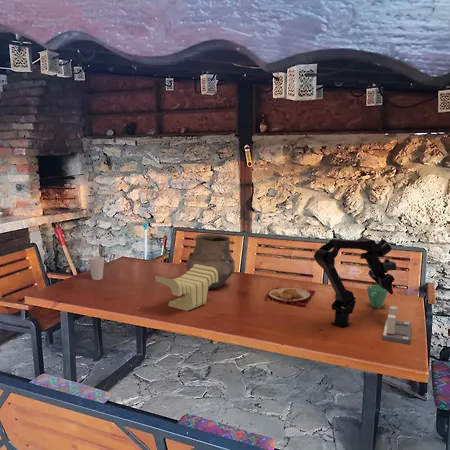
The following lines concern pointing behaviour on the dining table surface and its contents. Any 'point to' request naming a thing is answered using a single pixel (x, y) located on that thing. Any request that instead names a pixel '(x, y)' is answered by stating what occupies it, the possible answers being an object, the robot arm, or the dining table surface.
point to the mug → (376, 295)
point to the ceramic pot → (213, 256)
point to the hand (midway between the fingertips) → (388, 291)
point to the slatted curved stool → (191, 286)
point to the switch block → (398, 333)
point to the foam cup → (96, 267)
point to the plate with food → (290, 295)
